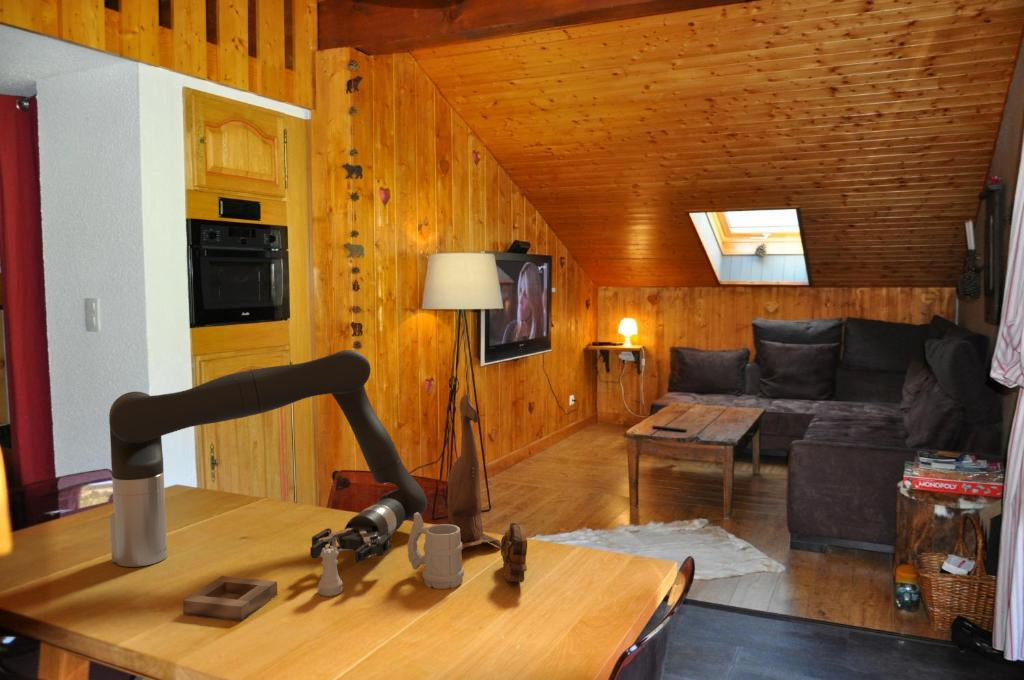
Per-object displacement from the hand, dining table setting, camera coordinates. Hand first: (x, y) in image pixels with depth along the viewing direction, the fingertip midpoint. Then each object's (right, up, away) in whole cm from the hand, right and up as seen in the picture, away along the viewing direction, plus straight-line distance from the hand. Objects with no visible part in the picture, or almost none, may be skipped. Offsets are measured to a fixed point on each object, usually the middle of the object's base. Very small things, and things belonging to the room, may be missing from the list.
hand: (334, 555), depth 146 cm
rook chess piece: (0, -6, -1) cm, 7 cm away
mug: (+18, -6, +4) cm, 19 cm away
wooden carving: (+32, -6, +5) cm, 33 cm away
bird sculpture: (+22, -4, +22) cm, 31 cm away
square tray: (-16, -7, -7) cm, 19 cm away
